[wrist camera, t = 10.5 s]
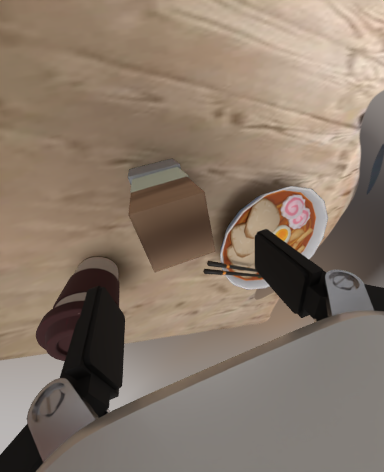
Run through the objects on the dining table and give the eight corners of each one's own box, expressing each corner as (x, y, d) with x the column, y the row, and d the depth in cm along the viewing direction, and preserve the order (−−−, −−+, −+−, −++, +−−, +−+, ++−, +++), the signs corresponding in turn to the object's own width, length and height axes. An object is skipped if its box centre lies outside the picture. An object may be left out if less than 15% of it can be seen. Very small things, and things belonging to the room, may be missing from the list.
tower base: (129, 169, 28) (127, 176, 23) (172, 158, 29) (179, 163, 24) (144, 209, 32) (145, 223, 27) (181, 199, 33) (189, 210, 28)
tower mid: (131, 179, 23) (130, 192, 18) (177, 166, 24) (188, 175, 19) (148, 220, 26) (150, 240, 21) (187, 208, 27) (198, 225, 22)
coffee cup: (65, 250, 31) (17, 327, 19) (124, 249, 34) (117, 315, 22) (74, 291, 36) (40, 375, 23) (126, 287, 39) (121, 360, 26)
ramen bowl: (320, 196, 41) (357, 209, 34) (268, 273, 50) (289, 296, 43) (231, 156, 31) (258, 163, 24) (187, 261, 40) (197, 287, 33)
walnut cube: (131, 192, 18) (128, 215, 13) (186, 176, 19) (204, 191, 14) (150, 239, 21) (154, 272, 16) (197, 224, 22) (215, 251, 17)
